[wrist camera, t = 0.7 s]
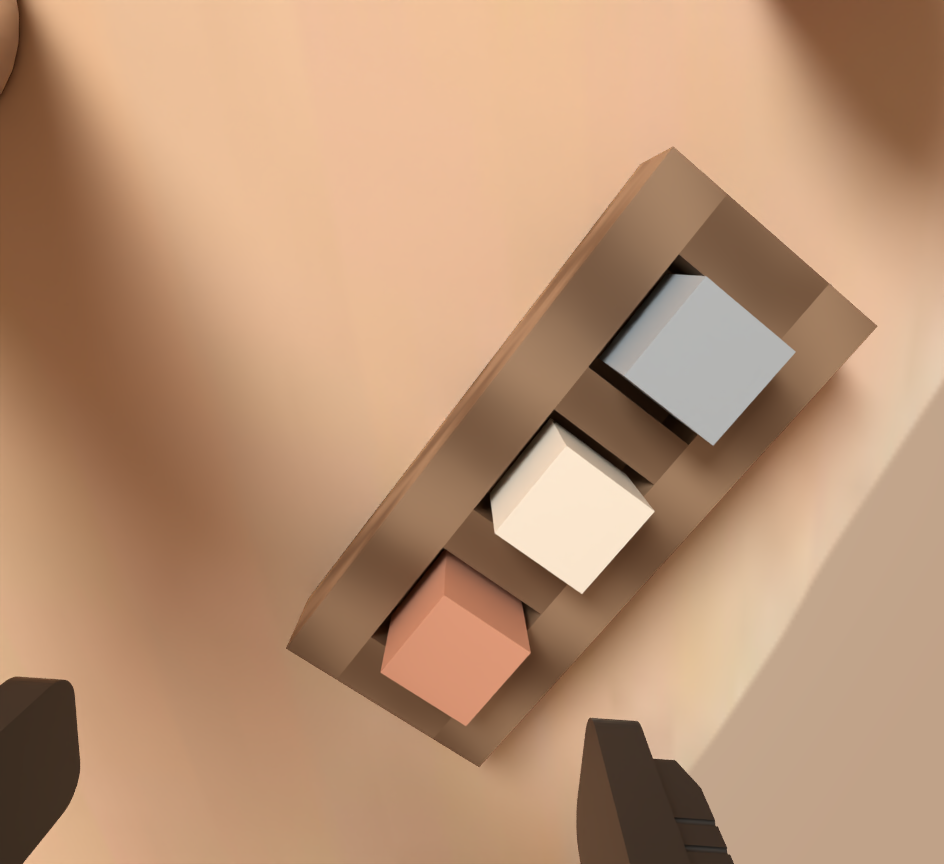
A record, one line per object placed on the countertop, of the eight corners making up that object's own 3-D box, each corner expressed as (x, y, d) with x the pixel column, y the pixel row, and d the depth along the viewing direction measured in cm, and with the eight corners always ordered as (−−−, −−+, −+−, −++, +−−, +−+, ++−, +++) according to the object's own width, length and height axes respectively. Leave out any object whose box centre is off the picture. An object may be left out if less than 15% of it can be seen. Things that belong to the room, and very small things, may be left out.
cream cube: (564, 546, 27) (582, 594, 23) (489, 493, 26) (494, 533, 22) (626, 474, 26) (654, 511, 22) (550, 417, 25) (566, 445, 22)
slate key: (674, 417, 25) (713, 445, 22) (598, 358, 25) (624, 375, 21) (743, 337, 25) (795, 352, 21) (666, 273, 24) (706, 276, 20)
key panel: (476, 705, 32) (479, 767, 28) (308, 598, 30) (286, 648, 26) (817, 317, 27) (877, 326, 23) (640, 164, 25) (673, 146, 21)
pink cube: (465, 662, 28) (466, 726, 24) (391, 614, 28) (380, 672, 24) (520, 597, 27) (530, 652, 24) (446, 547, 27) (444, 594, 23)
